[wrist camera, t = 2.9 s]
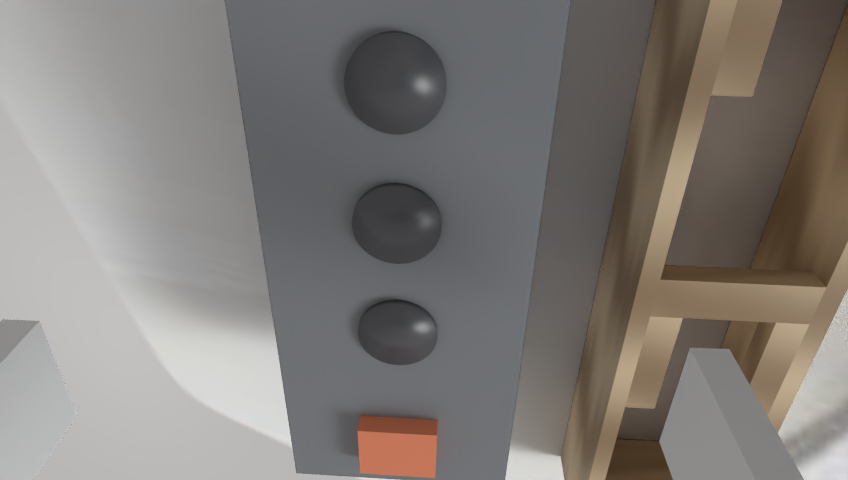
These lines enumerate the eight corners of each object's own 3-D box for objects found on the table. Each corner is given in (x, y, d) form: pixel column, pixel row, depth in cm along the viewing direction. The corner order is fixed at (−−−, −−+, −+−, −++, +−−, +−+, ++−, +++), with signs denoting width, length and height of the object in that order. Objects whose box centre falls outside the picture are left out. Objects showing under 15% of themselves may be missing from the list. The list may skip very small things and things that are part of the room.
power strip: (289, -117, 16) (196, -105, 11) (546, -111, 16) (589, -97, 11) (330, 349, 26) (292, 488, 20) (496, 358, 25) (505, 501, 20)
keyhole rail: (698, -201, 15) (766, -220, 12) (948, -198, 15) (1090, -215, 11) (561, 457, 28) (574, 538, 25) (690, 465, 28) (721, 547, 25)
